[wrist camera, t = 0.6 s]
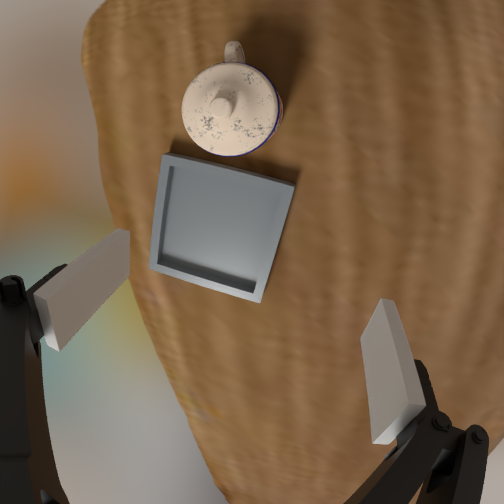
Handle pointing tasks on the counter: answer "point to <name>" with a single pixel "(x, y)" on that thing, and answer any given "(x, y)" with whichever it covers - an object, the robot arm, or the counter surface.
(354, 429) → the counter surface
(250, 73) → the teacup with lid
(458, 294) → the counter surface
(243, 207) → the cup tray
